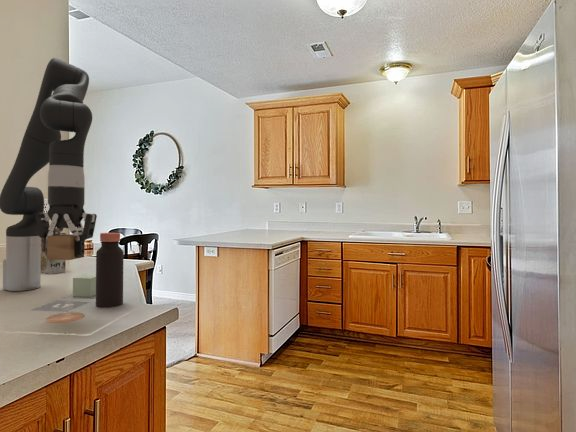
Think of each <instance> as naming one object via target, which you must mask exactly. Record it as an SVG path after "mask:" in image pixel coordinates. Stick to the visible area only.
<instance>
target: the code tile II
mask: <svg viewBox="0 0 576 432" xmlns="http://www.w3.org/2000/svg"><path fill="white" fill-rule="evenodd" d="M61 299H75V300H77V299H78V300H79V299H80V300H96V295H94V296H92V297H76V296H73V293H71V294H69V295H66V296H61Z"/></svg>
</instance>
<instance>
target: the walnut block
mask: <svg viewBox="0 0 576 432" xmlns="http://www.w3.org/2000/svg"><path fill="white" fill-rule="evenodd" d="M75 242H76V241H75V239H74V236H73V234H72V233H71V234H70V233H69V234H67V233H66V234H61V235H51V236H47V260H66V261H73V260H76V259H77V260H78V259H80V258H85V253H84V254H83V255H82V256H81V257H75V256H74V247H75Z"/></svg>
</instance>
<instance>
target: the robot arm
mask: <svg viewBox="0 0 576 432" xmlns="http://www.w3.org/2000/svg"><path fill="white" fill-rule="evenodd" d="M89 84H90V76H89V73H88V72H86V70H83V69H82V68H80V67H77V66H75V65H73V64H71V63H69V62H67V61H64V60H62V59H60V58H57V57H53V58H51V59H50V60H49V62H48V63H47V64H46V67H45V71H44V74H43V77H42V80H41V84H40V88H39V92H38V95H37V98H36V101H35V102H36V103H35V106H34V107H33V108H34V109H33V111H32V113H31V116H30V119H29V121H28V124H27V126H26V129H25V132H24V135H23V137H22V140H21V143H20V147H19V150H18V153H17V156H16V159H15V161H14V164H13V166H12V168H11V171H10V173H9V174H8V177H7V178H6V180H5V183H4V185H3V187H2V190H1V191H0V211H1V212H2V213H3V214H4V215H11V216H18V215H19V216H22V219H21V220H20V221H18V222H17V223H15V224H12V225H10V226H7V228H6V229H5V259H3V260H2V290H4V291H9V292H21V291H30V290H37V289H39V288H41V275H42V274H41V273H42V272H41V238H45V239H47V236H51V235H60V233H63V230H64V229H69V233H71V234H73V236H74V239H75V241H76V242H75V247H74V256H75V257H81V256H82V255H83V254H84V255H85V253H86V252H85V251H86V250H85V248H86V247H85V244H86V243H85V241H86V240H88V239H92V238H93V237H94V233H95V228H96V222H97V216H98V215H97V214H96V213H87V212H86V211H85V209H84V206H85V190H86V189H85V187H86V186H85V184H86V183H85V179H86V178H85V177H86V176H85V170H84V162H85V161H84V160H85V158H84V155H85V154H84V153H85V152H84V151H85V145H86V142H87V141H86V140H87V137H88V133H89V131H90V129H91V127H92V122H93V113H92V110H91V108H89V107H90V106H88V105H87V104H84V99H85V97H86V95H87V92H88V88H89ZM61 132H66V133H67V132H69V133H75V134H74V136H72V137H71V138H69V139H62V134H61ZM47 165H48V174H47V204H48V206H49V208H48V210H47V211H46V212H44V209H45V197H44V194H43V191H42V190H41V189H40V188H38V187H35V186H28V185H27V184H28V183H29V182H30V180H31V179H32V177H34V175H35V174H37V173H38V172H39V171H40V170H41V169H43V168H45V167H46V166H47ZM50 220H51V222H50ZM82 221H83V222H84V224H83V223H82Z"/></svg>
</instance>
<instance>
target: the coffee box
mask: <svg viewBox="0 0 576 432" xmlns="http://www.w3.org/2000/svg"><path fill="white" fill-rule="evenodd" d="M61 234H67V233H66V232H60V235H61ZM66 261H67V260H47V239H45V238H41V273H42V272H43V274H49V275H53V274H60V273H61V272H62V273H66Z"/></svg>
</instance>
